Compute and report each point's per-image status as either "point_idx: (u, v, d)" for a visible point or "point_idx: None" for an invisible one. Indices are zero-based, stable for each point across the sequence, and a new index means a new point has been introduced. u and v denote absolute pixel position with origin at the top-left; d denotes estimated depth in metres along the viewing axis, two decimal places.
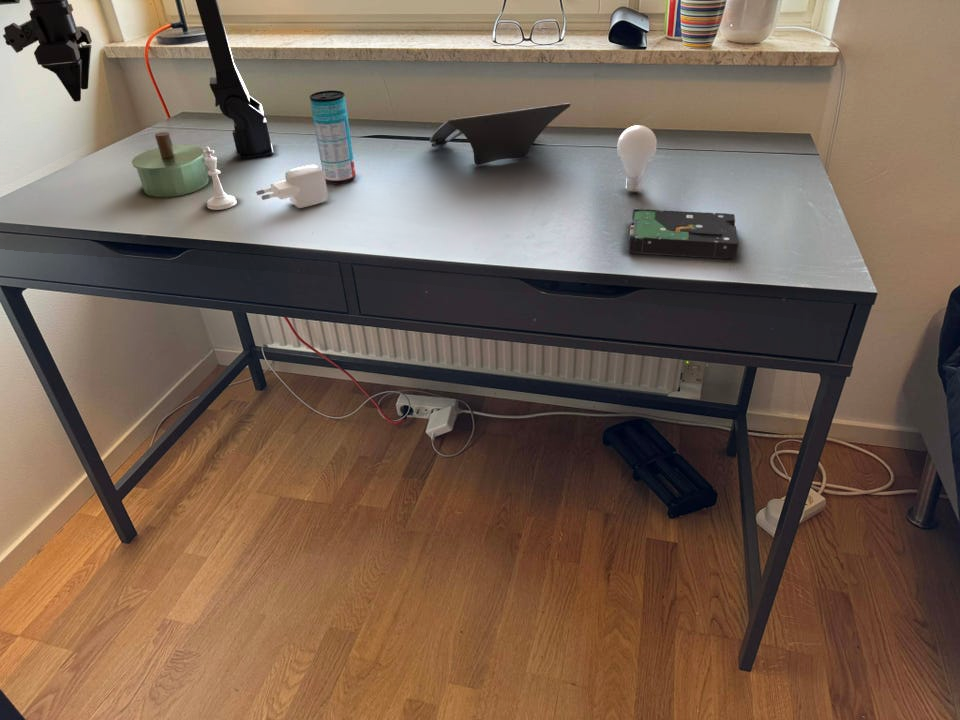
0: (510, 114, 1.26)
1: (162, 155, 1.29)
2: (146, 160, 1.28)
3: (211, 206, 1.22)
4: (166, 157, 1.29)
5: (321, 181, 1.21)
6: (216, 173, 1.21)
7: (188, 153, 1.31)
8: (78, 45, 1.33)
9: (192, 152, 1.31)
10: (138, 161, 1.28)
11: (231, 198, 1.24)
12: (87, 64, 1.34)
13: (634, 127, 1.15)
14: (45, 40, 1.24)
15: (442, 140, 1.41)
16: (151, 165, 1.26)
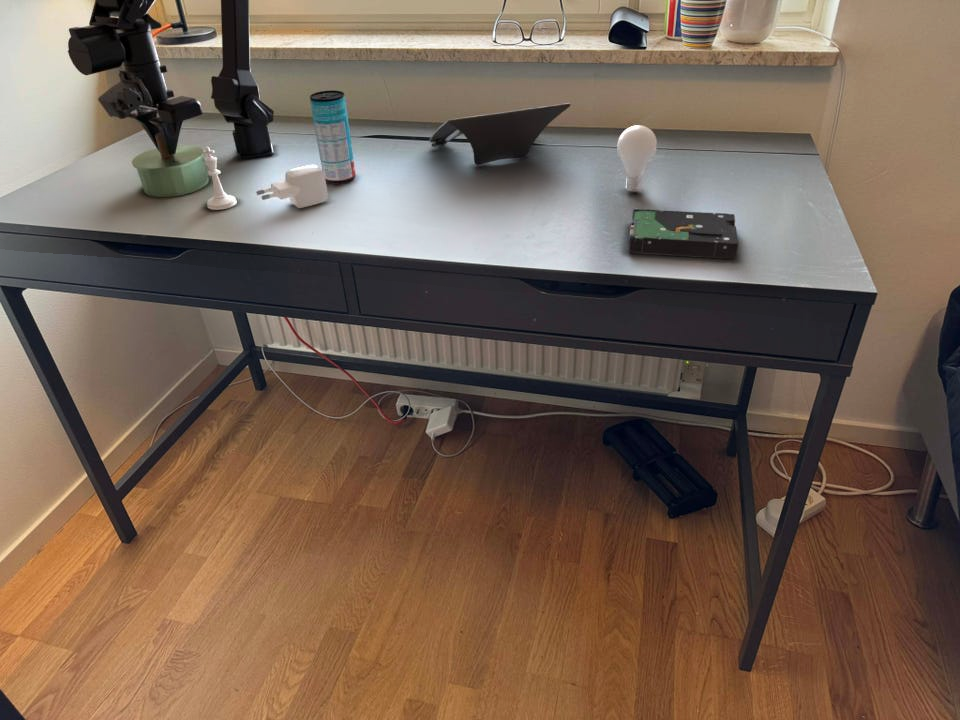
0: (510, 114, 1.26)
1: (162, 155, 1.29)
2: (146, 160, 1.28)
3: (211, 206, 1.22)
4: (166, 157, 1.29)
5: (321, 181, 1.21)
6: (216, 173, 1.21)
7: (188, 153, 1.31)
8: None
9: (192, 152, 1.31)
10: (138, 161, 1.28)
11: (231, 198, 1.24)
12: None
13: (634, 127, 1.15)
14: (151, 101, 1.21)
15: (442, 140, 1.41)
16: (151, 165, 1.26)
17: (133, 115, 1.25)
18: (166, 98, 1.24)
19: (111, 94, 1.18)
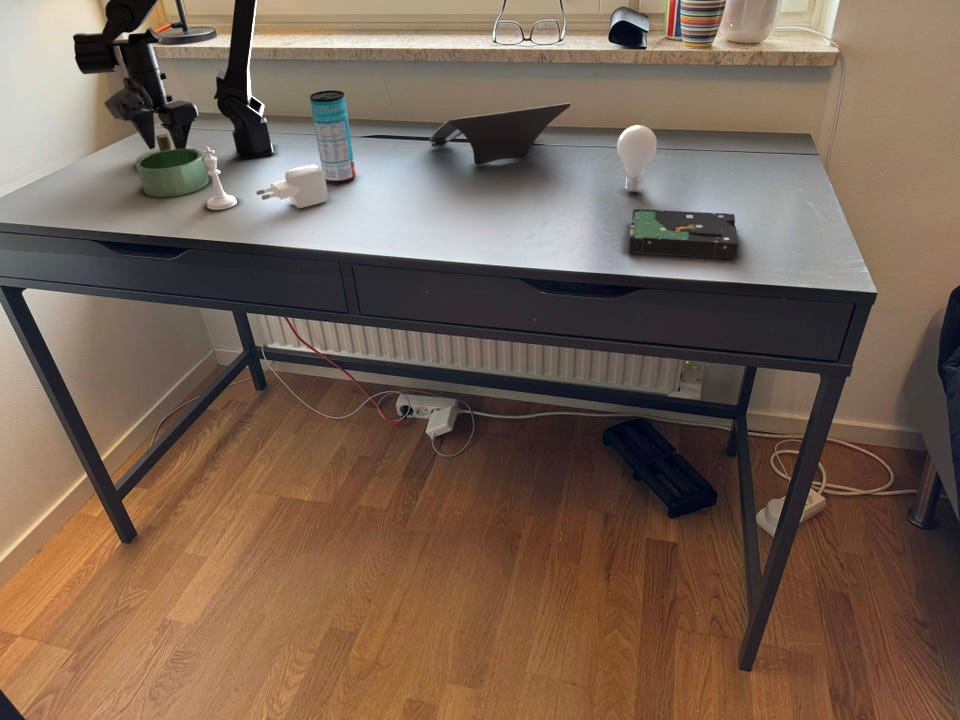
0: (510, 114, 1.26)
1: None
2: None
3: (211, 206, 1.22)
4: None
5: (321, 181, 1.21)
6: (216, 173, 1.21)
7: None
8: None
9: None
10: None
11: (231, 198, 1.24)
12: (153, 125, 1.44)
13: (634, 127, 1.15)
14: (152, 104, 1.35)
15: (442, 140, 1.41)
16: None
17: None
18: (165, 102, 1.37)
19: (116, 99, 1.32)
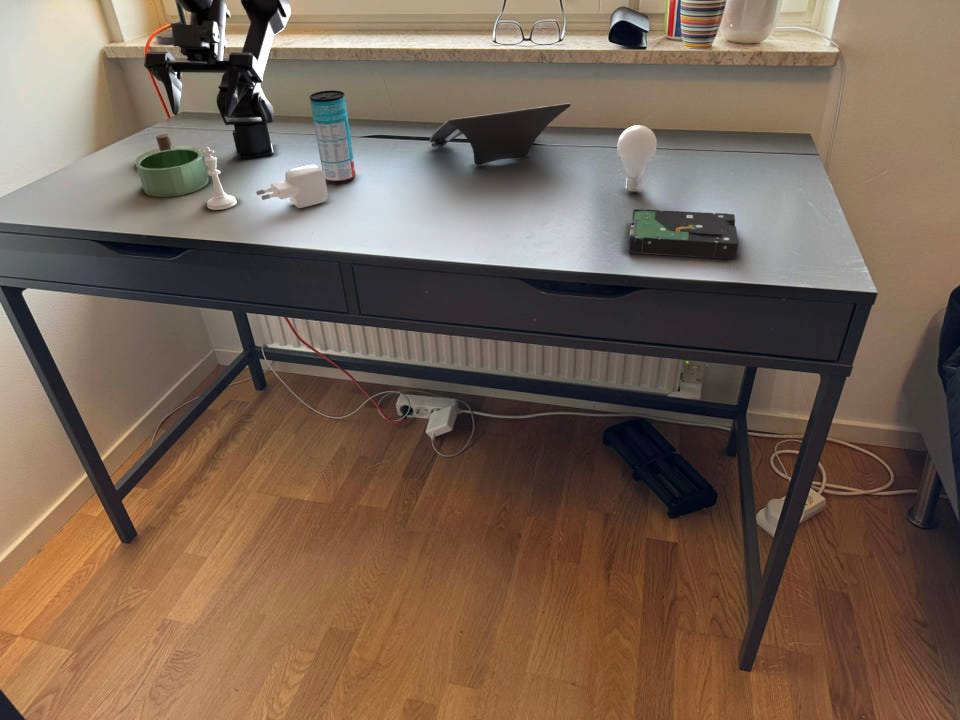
0: (510, 114, 1.26)
1: None
2: None
3: (211, 206, 1.22)
4: None
5: (321, 181, 1.21)
6: (216, 173, 1.21)
7: None
8: (175, 76, 1.26)
9: None
10: None
11: (231, 198, 1.24)
12: (180, 95, 1.26)
13: (634, 127, 1.15)
14: (216, 53, 1.22)
15: (442, 140, 1.41)
16: None
17: None
18: None
19: None
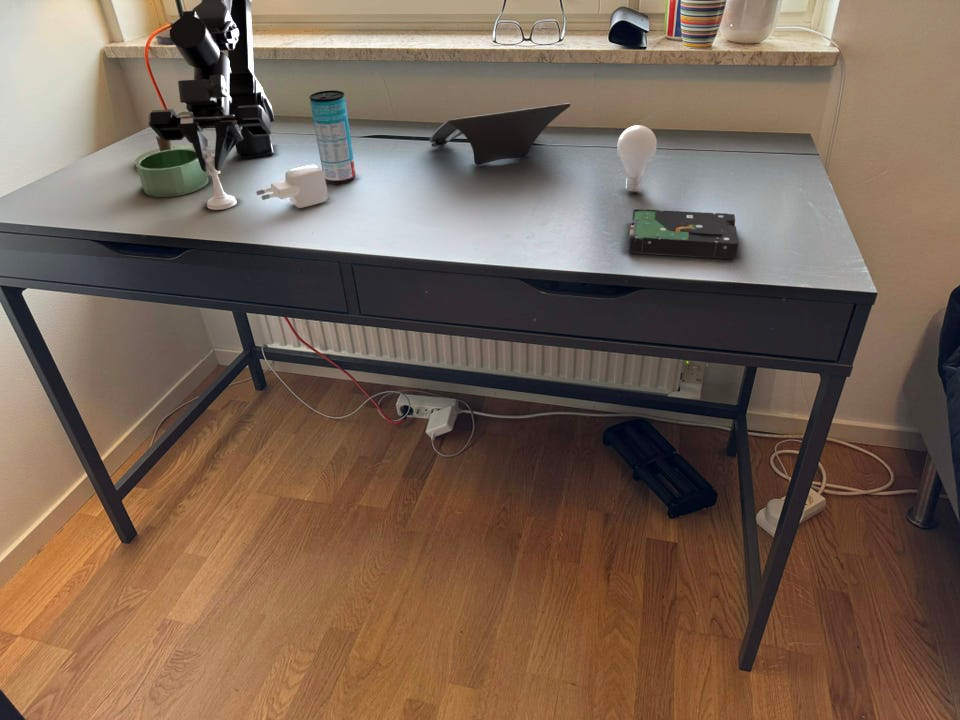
0: (510, 114, 1.26)
1: None
2: None
3: (211, 206, 1.22)
4: None
5: (321, 181, 1.21)
6: (216, 173, 1.21)
7: None
8: (201, 133, 1.22)
9: None
10: None
11: (231, 198, 1.24)
12: None
13: (634, 127, 1.15)
14: (223, 107, 1.19)
15: (442, 140, 1.41)
16: None
17: None
18: None
19: None
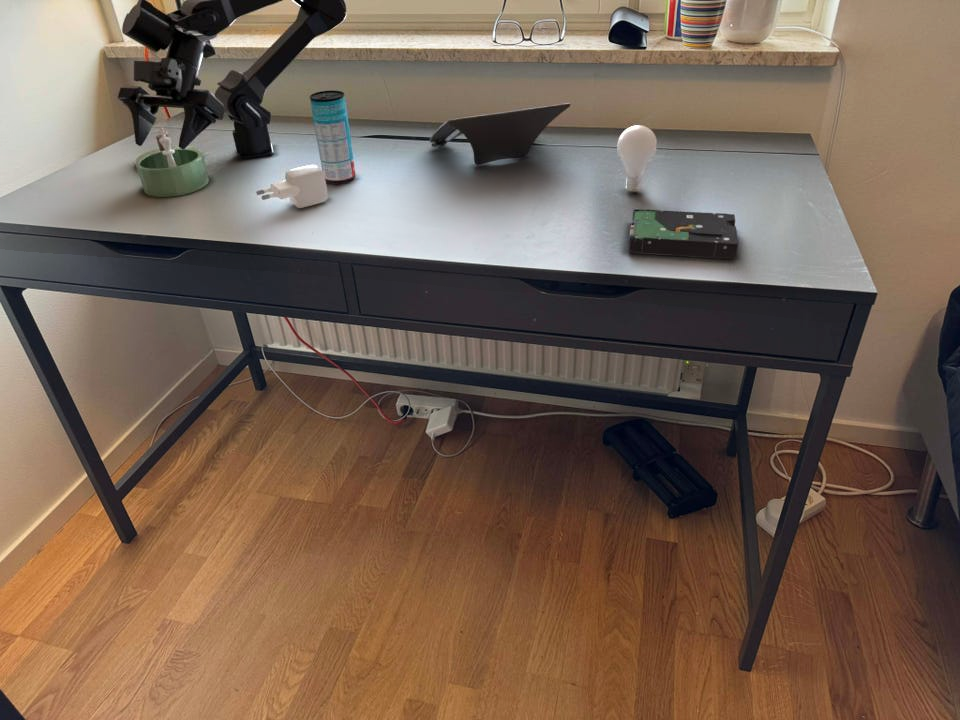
0: (510, 114, 1.26)
1: None
2: None
3: None
4: None
5: (321, 181, 1.21)
6: (168, 153, 1.29)
7: None
8: (149, 110, 1.31)
9: None
10: None
11: None
12: (150, 128, 1.31)
13: (634, 127, 1.15)
14: (179, 89, 1.26)
15: (442, 140, 1.41)
16: None
17: None
18: None
19: None
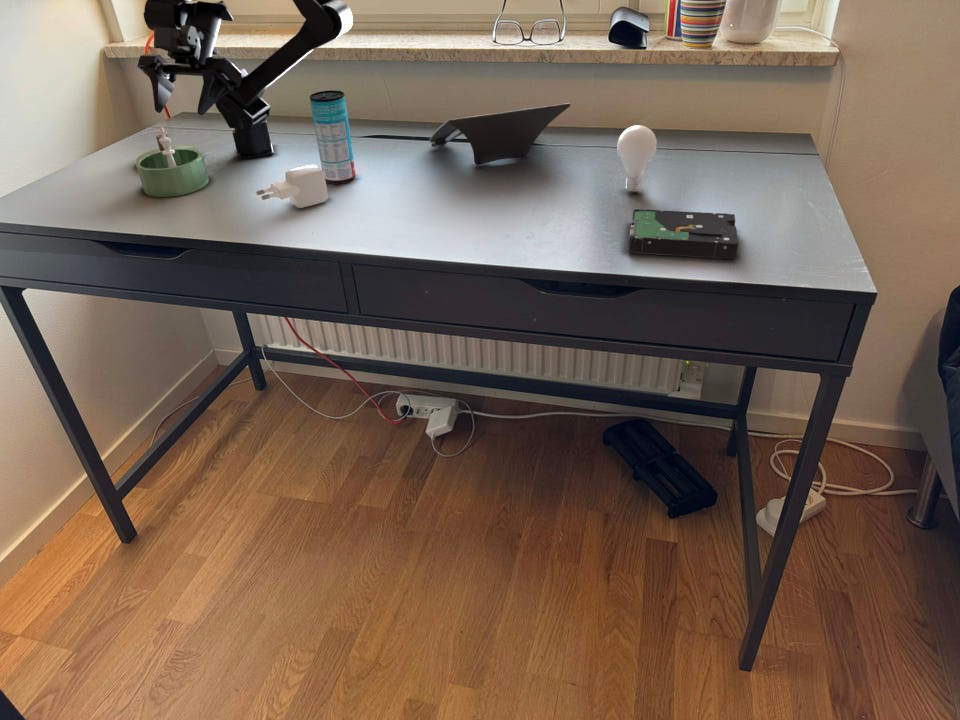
0: (510, 114, 1.26)
1: None
2: None
3: None
4: None
5: (321, 181, 1.21)
6: (168, 153, 1.29)
7: None
8: (167, 78, 1.34)
9: None
10: None
11: None
12: (169, 96, 1.34)
13: (634, 127, 1.15)
14: (198, 56, 1.29)
15: (442, 140, 1.41)
16: None
17: None
18: None
19: None
